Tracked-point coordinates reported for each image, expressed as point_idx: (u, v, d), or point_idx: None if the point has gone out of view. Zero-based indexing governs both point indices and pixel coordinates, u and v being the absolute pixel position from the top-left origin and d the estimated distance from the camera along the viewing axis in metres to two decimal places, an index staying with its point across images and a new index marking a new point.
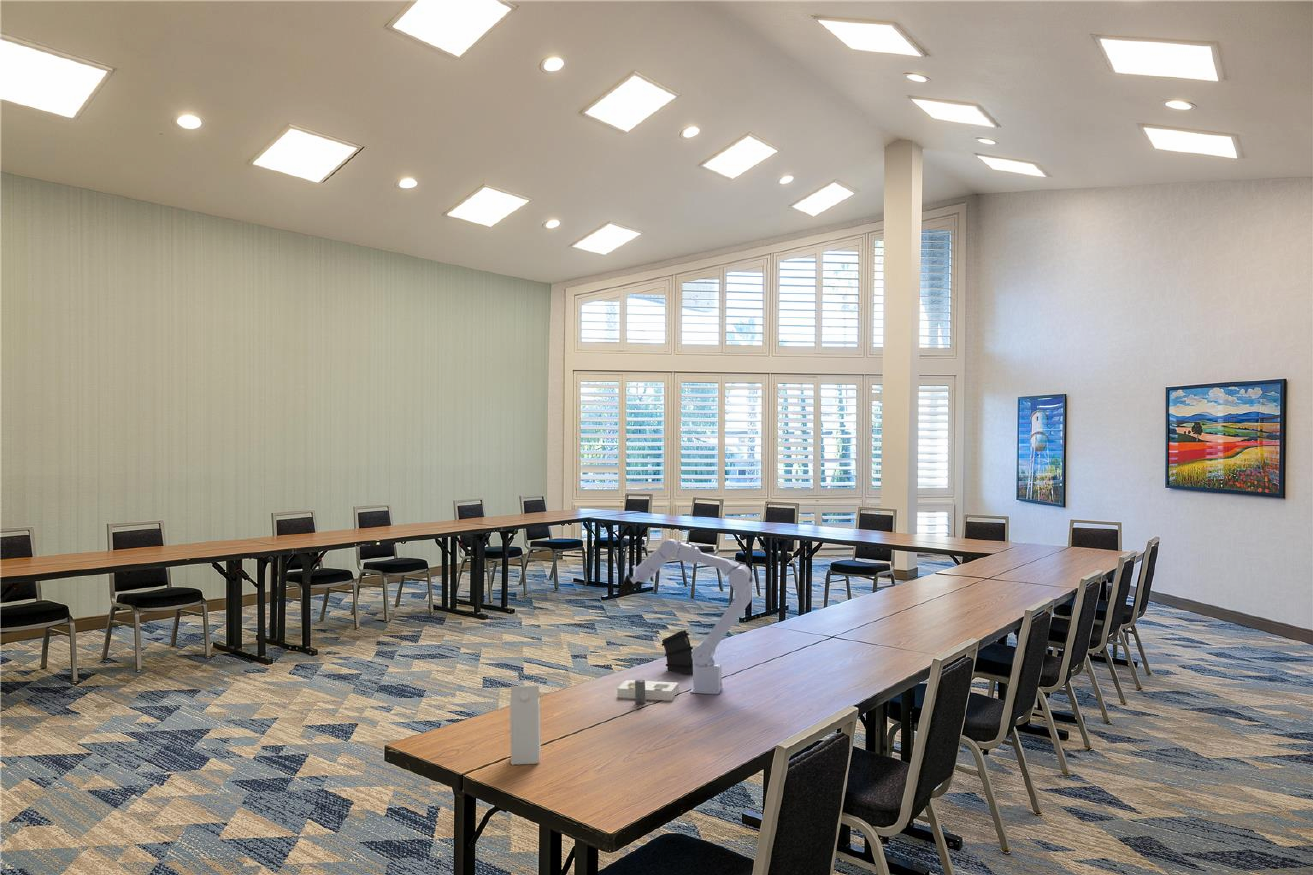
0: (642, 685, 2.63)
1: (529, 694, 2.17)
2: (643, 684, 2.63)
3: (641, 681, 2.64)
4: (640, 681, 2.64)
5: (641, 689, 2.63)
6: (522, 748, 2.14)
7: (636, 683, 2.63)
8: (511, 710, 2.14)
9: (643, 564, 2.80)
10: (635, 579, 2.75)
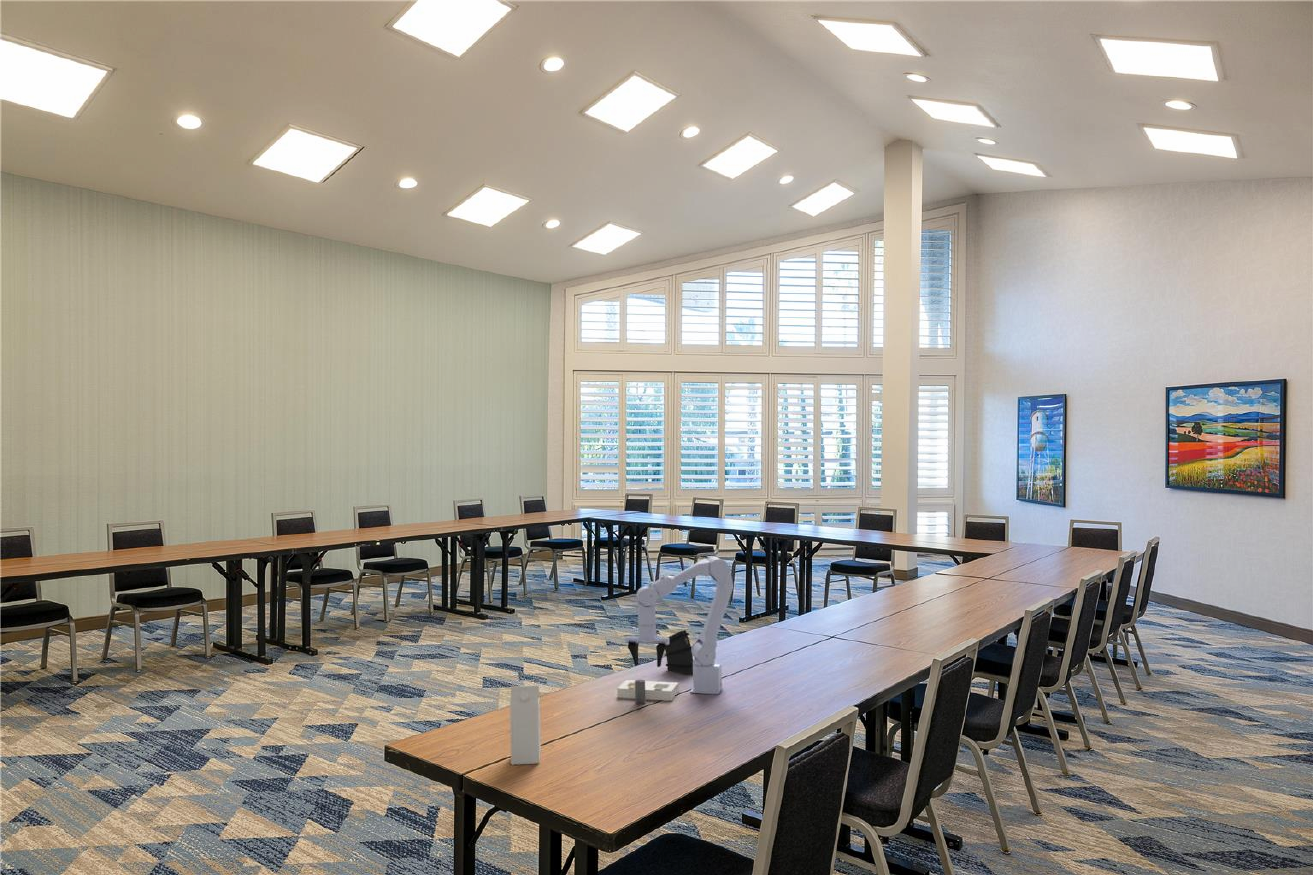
0: (642, 685, 2.63)
1: (529, 694, 2.17)
2: (643, 684, 2.63)
3: (641, 681, 2.64)
4: (640, 681, 2.64)
5: (641, 689, 2.63)
6: (522, 748, 2.14)
7: (636, 683, 2.63)
8: (511, 710, 2.14)
9: (651, 628, 2.71)
10: (668, 639, 2.72)
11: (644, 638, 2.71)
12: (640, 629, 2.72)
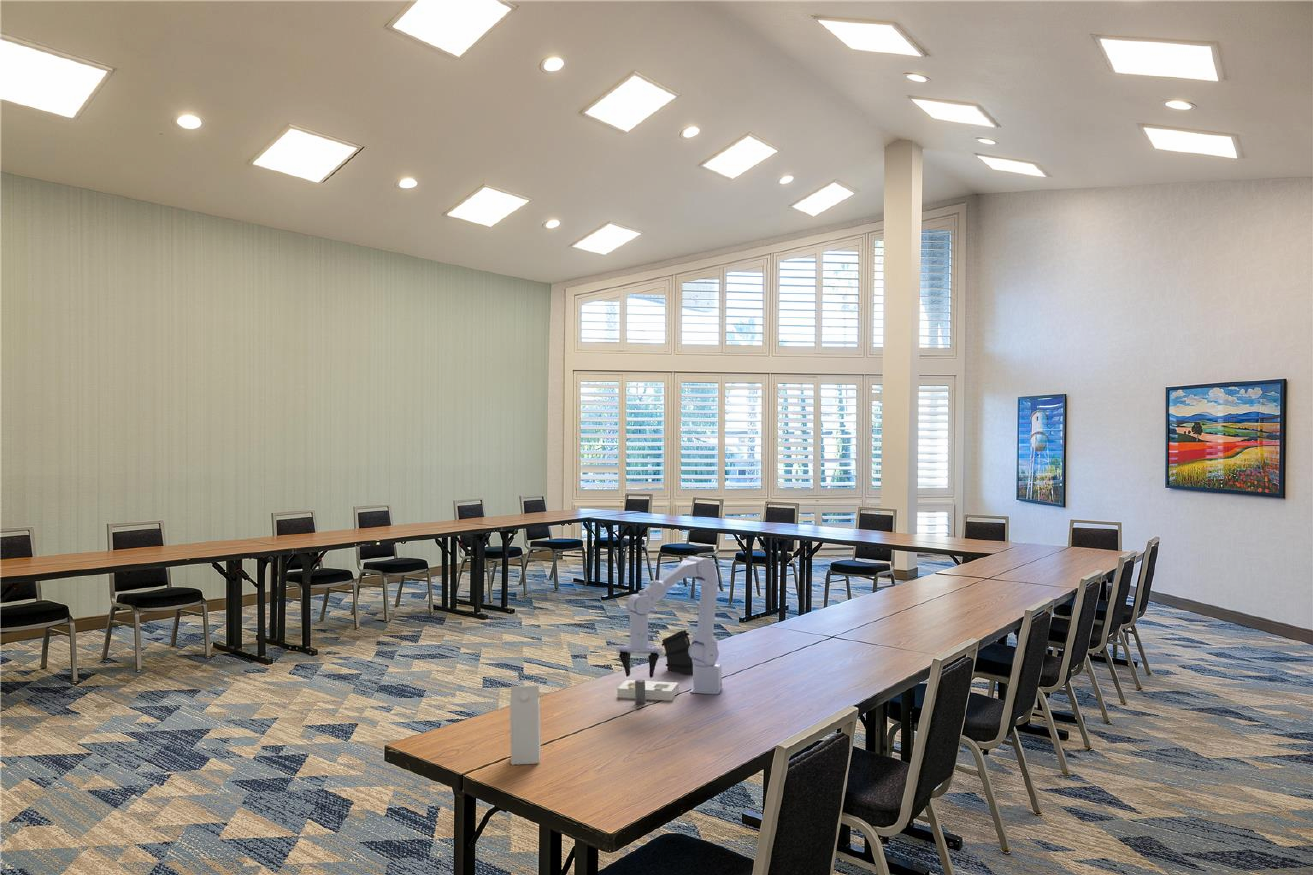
0: (642, 685, 2.63)
1: (529, 694, 2.17)
2: (643, 684, 2.63)
3: (641, 681, 2.64)
4: (640, 681, 2.64)
5: (641, 689, 2.63)
6: (522, 748, 2.14)
7: (636, 683, 2.63)
8: (511, 710, 2.14)
9: (644, 637, 2.62)
10: (661, 649, 2.63)
11: (636, 648, 2.62)
12: (632, 638, 2.62)
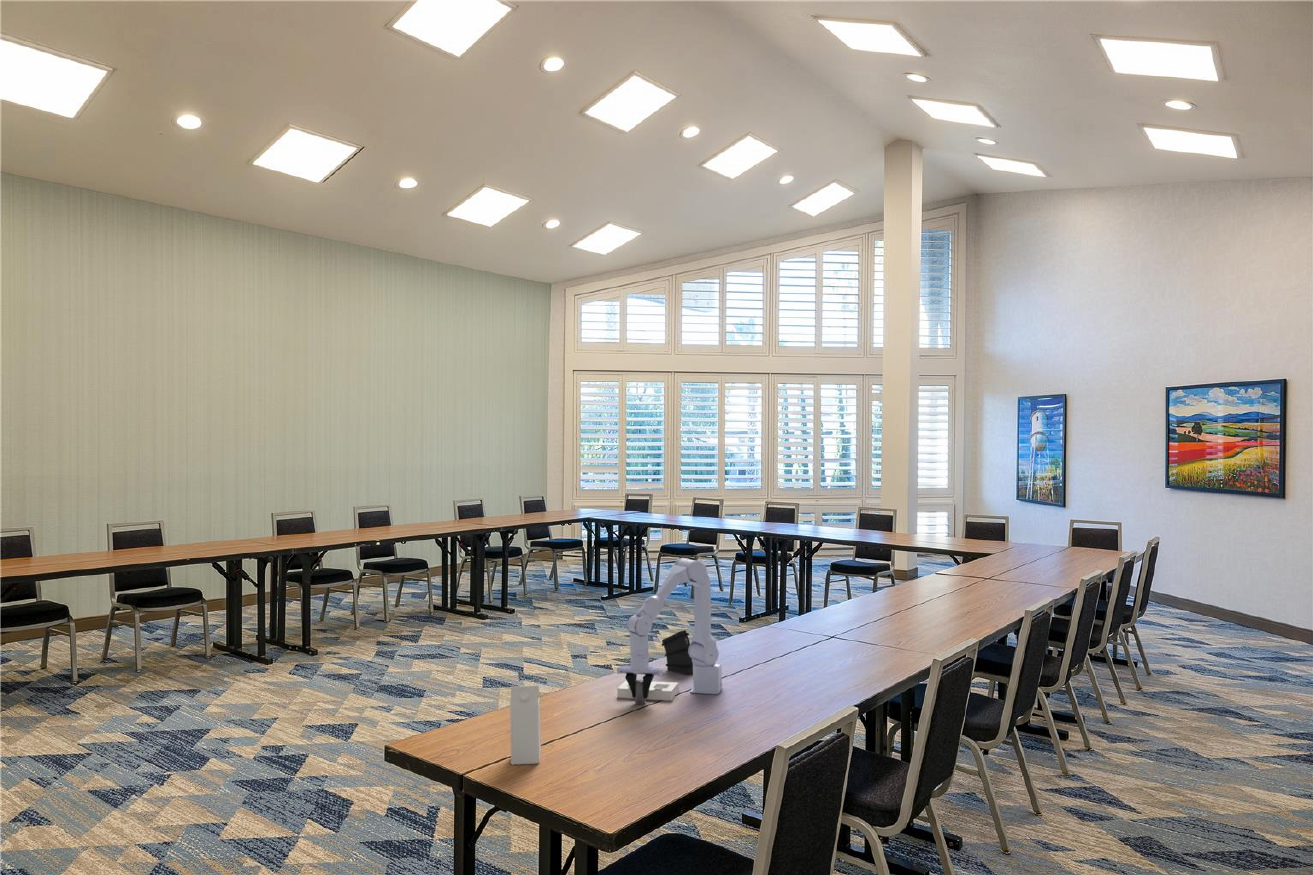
0: (642, 685, 2.63)
1: (529, 694, 2.17)
2: (643, 684, 2.63)
3: (641, 681, 2.64)
4: (640, 681, 2.64)
5: (641, 689, 2.63)
6: (522, 748, 2.14)
7: (636, 683, 2.63)
8: (511, 710, 2.14)
9: (644, 658, 2.62)
10: (662, 670, 2.63)
11: (636, 669, 2.61)
12: (632, 659, 2.62)
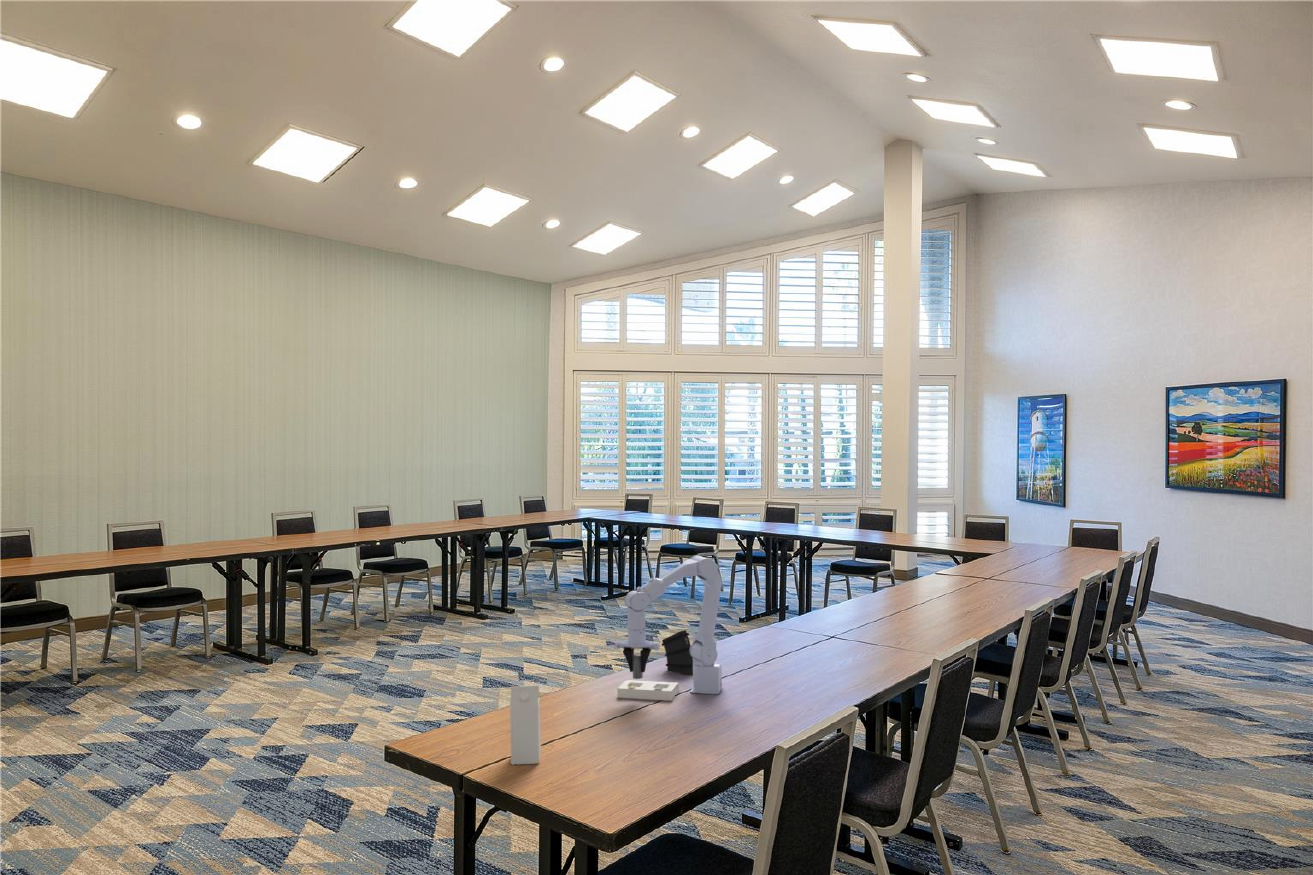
0: (639, 659, 2.67)
1: (529, 694, 2.17)
2: (640, 658, 2.68)
3: (638, 655, 2.68)
4: (637, 655, 2.68)
5: (639, 663, 2.67)
6: (522, 748, 2.14)
7: (633, 657, 2.67)
8: (511, 710, 2.14)
9: (641, 633, 2.67)
10: (659, 644, 2.67)
11: (634, 643, 2.66)
12: (630, 634, 2.67)
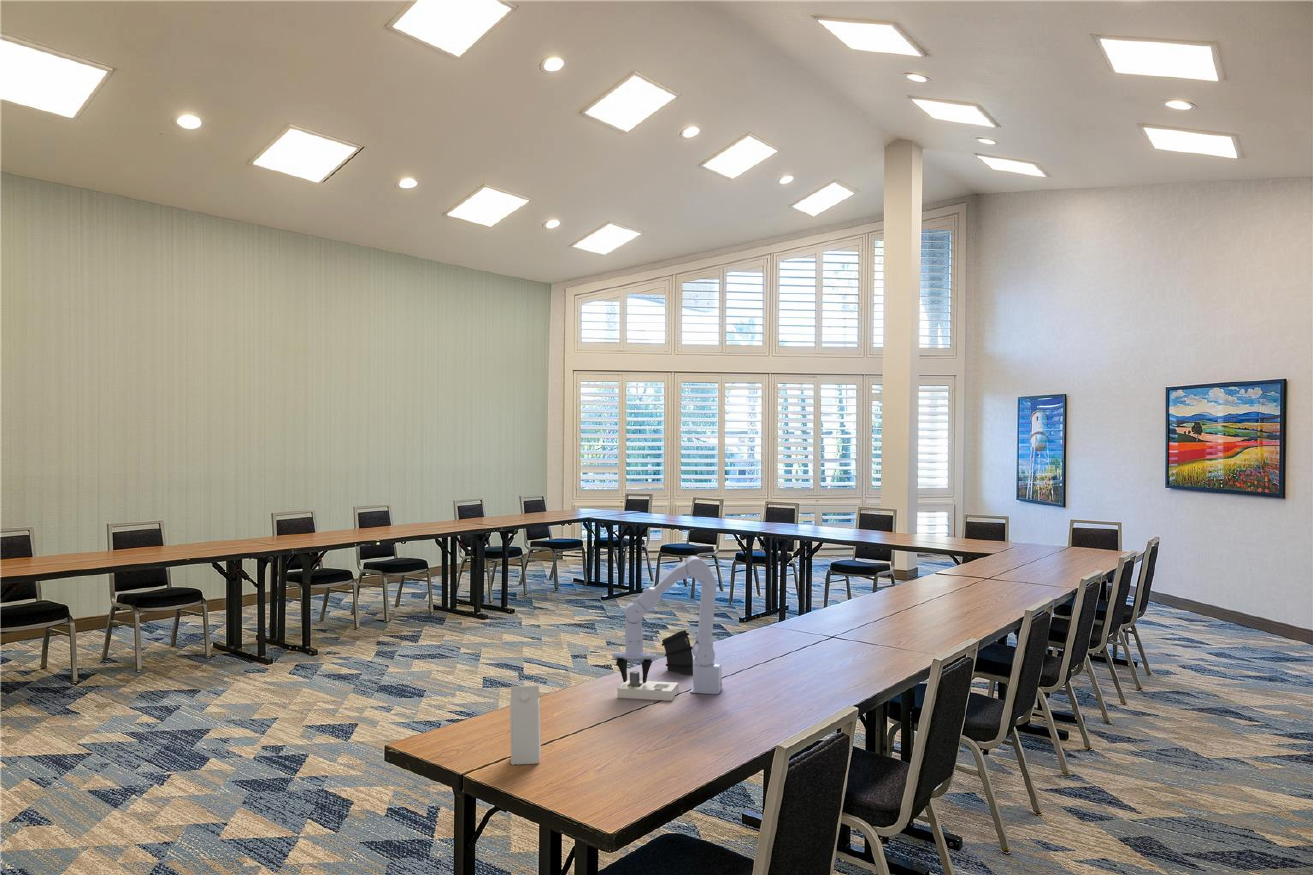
0: (637, 676, 2.73)
1: (529, 694, 2.17)
2: (638, 675, 2.73)
3: (636, 673, 2.74)
4: (635, 673, 2.74)
5: (636, 680, 2.73)
6: (522, 748, 2.14)
7: (631, 674, 2.73)
8: (511, 710, 2.14)
9: (638, 644, 2.72)
10: (655, 655, 2.73)
11: (631, 654, 2.72)
12: (627, 645, 2.73)
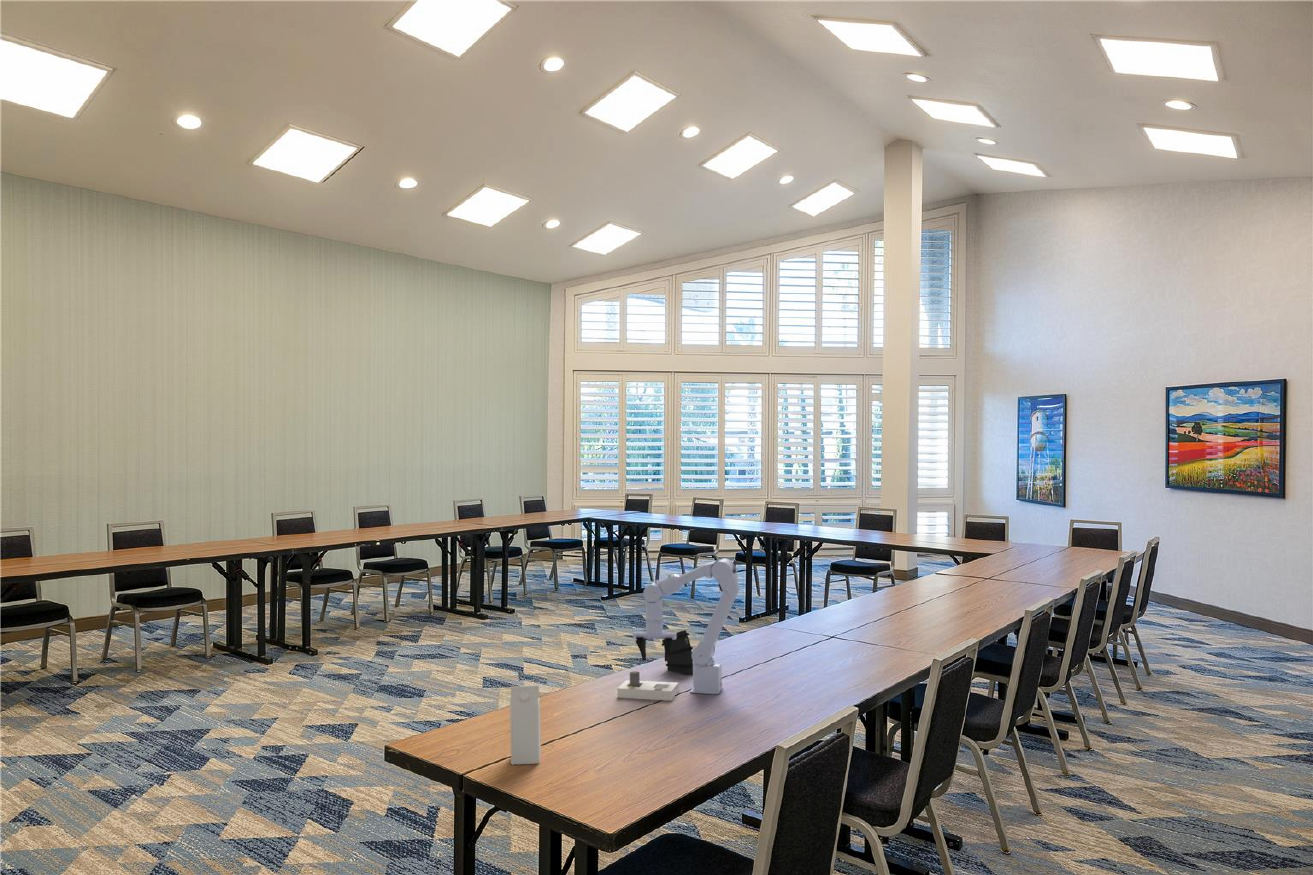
0: (637, 676, 2.73)
1: (529, 694, 2.17)
2: (638, 675, 2.73)
3: (636, 673, 2.74)
4: (635, 673, 2.74)
5: (636, 680, 2.73)
6: (522, 748, 2.14)
7: (631, 674, 2.73)
8: (511, 710, 2.14)
9: (659, 623, 2.79)
10: (675, 634, 2.80)
11: (652, 633, 2.78)
12: (648, 625, 2.79)
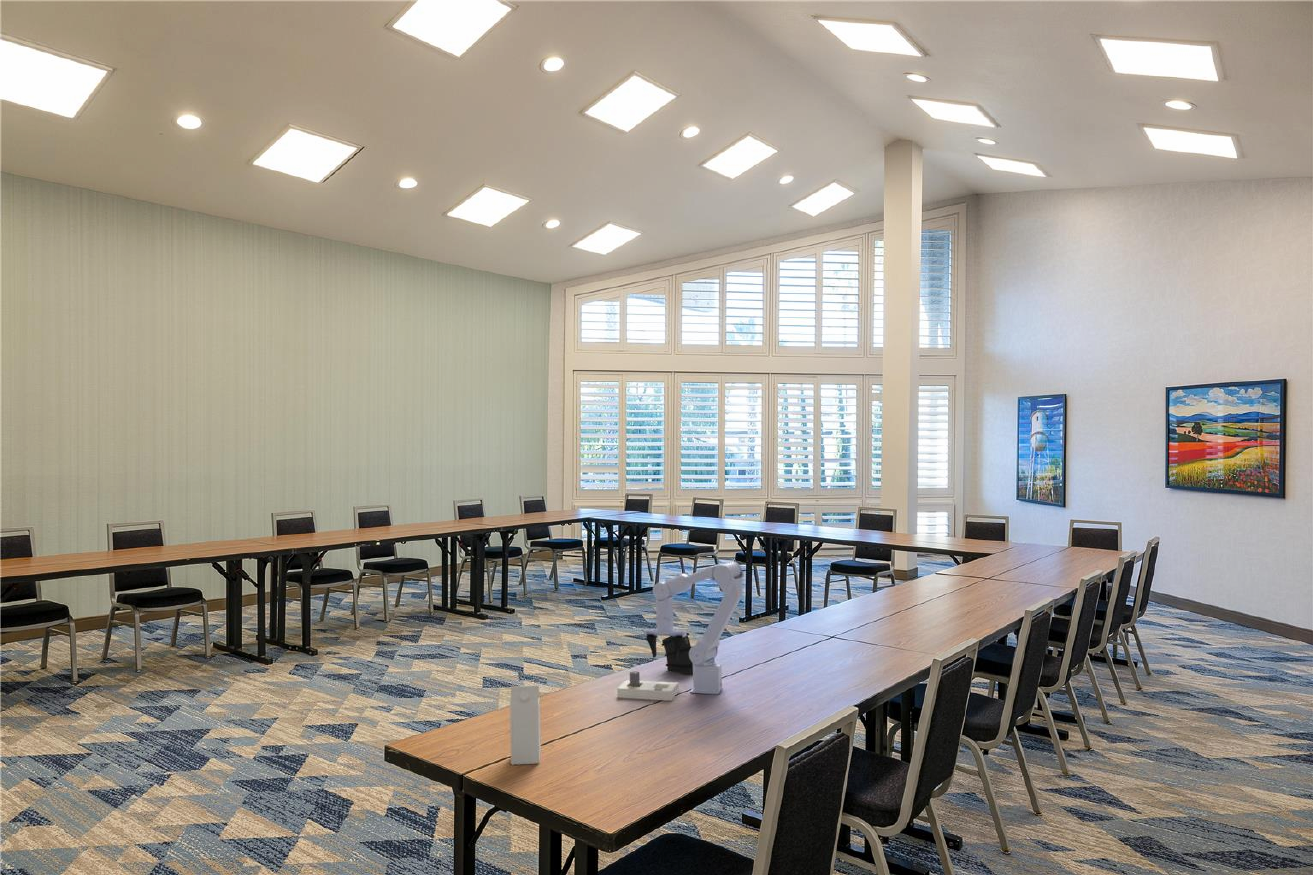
0: (637, 676, 2.73)
1: (529, 694, 2.17)
2: (638, 675, 2.73)
3: (636, 673, 2.74)
4: (635, 673, 2.74)
5: (636, 680, 2.73)
6: (522, 748, 2.14)
7: (631, 674, 2.73)
8: (511, 710, 2.14)
9: (669, 621, 2.82)
10: (685, 631, 2.83)
11: (662, 630, 2.82)
12: (658, 622, 2.82)
